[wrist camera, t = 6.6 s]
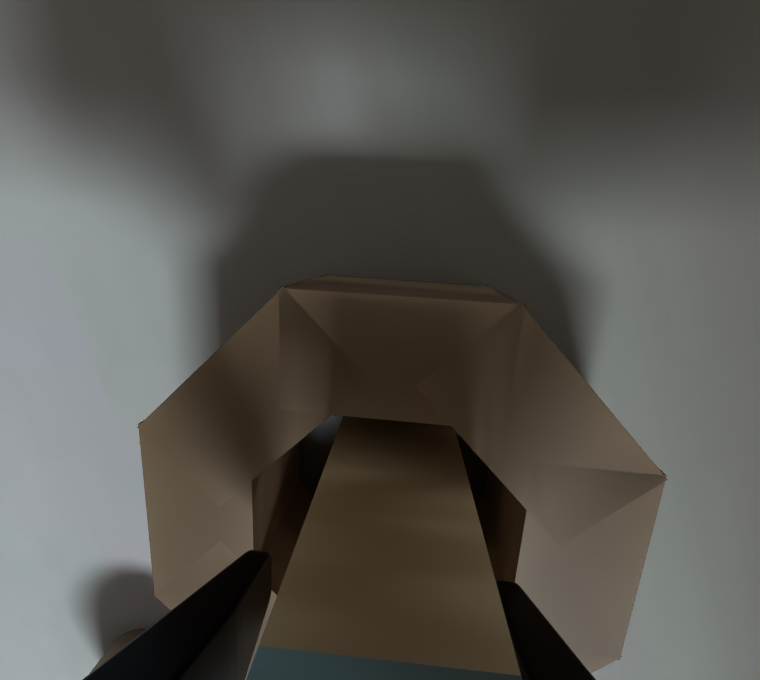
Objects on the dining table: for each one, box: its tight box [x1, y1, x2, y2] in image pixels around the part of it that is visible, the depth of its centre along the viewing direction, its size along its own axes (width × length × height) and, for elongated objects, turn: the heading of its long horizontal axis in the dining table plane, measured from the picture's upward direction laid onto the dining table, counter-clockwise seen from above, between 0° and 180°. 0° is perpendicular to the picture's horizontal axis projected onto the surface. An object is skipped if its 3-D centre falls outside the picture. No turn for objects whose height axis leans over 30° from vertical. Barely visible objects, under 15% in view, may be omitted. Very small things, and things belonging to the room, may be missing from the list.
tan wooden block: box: [246, 416, 522, 680], centre depth 8 cm, size 3×3×8 cm
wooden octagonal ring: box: [138, 274, 667, 679], centre depth 10 cm, size 10×10×4 cm
